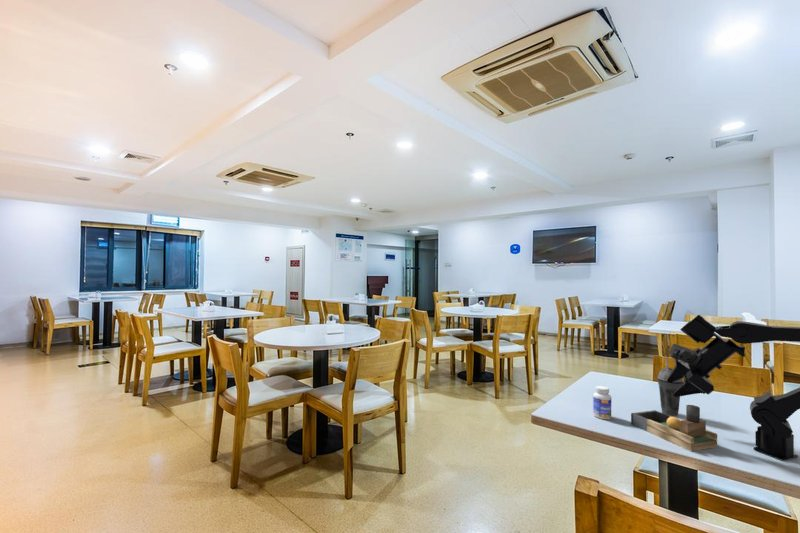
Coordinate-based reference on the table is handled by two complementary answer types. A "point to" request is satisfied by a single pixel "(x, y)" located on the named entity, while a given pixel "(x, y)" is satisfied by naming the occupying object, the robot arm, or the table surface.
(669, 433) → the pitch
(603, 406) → the pill bottle
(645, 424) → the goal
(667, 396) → the beverage cup
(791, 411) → the robot arm
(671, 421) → the ball
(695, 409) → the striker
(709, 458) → the table surface
